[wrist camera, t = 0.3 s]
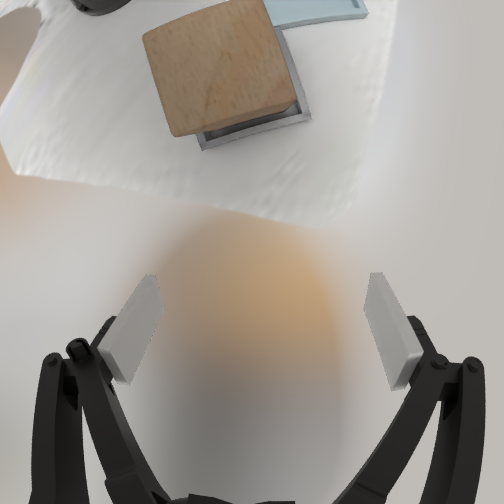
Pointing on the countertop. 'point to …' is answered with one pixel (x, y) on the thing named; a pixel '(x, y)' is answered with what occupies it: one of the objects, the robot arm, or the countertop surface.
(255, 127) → the bay
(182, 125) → the wooden block
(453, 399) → the robot arm
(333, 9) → the tray
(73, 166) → the countertop surface
